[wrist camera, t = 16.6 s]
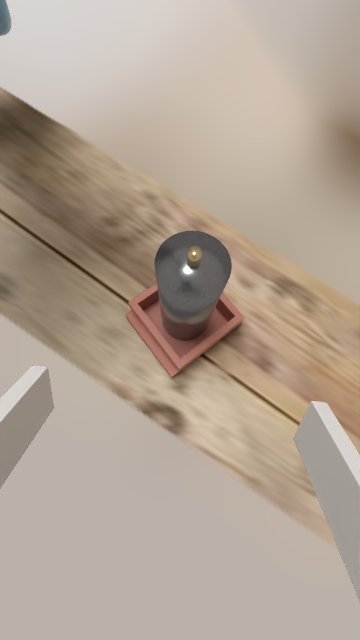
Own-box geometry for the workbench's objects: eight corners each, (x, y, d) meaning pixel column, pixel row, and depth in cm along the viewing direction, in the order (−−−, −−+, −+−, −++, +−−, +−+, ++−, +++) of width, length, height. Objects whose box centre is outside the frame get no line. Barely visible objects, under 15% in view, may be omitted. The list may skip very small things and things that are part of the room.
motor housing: (152, 314, 33) (136, 244, 18) (188, 289, 34) (200, 204, 19) (180, 349, 32) (188, 306, 17) (216, 322, 33) (253, 259, 18)
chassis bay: (126, 318, 34) (121, 306, 30) (195, 271, 36) (198, 255, 32) (171, 377, 32) (172, 374, 28) (241, 323, 34) (250, 312, 30)
